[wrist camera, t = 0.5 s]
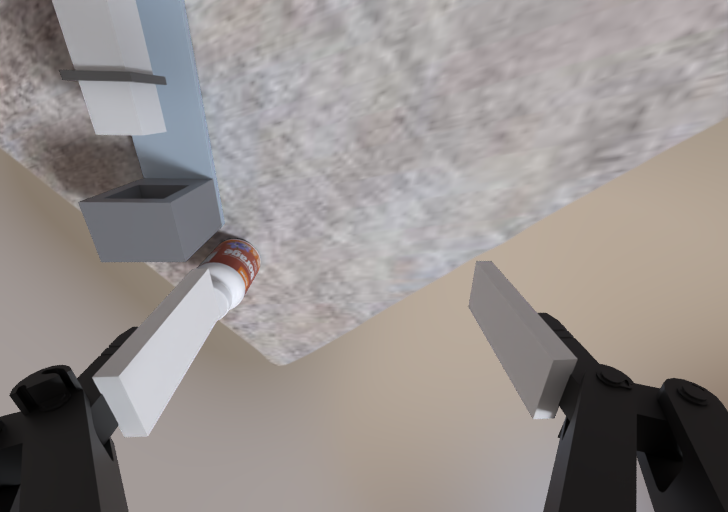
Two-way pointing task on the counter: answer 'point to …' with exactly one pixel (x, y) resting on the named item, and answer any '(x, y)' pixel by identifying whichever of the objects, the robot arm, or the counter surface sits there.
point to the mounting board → (174, 99)
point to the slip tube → (111, 65)
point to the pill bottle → (231, 271)
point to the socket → (153, 219)
